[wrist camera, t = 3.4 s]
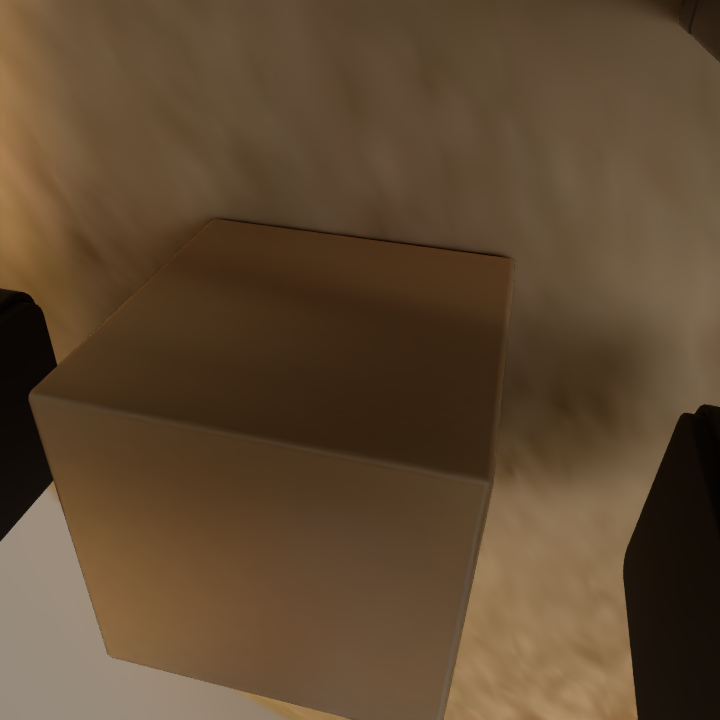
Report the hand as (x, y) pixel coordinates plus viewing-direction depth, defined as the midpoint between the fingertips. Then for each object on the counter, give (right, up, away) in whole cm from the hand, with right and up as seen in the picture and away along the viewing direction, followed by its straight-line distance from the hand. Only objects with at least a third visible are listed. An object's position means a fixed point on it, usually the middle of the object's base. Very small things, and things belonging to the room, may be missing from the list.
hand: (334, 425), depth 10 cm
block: (0, +1, +1) cm, 2 cm away
